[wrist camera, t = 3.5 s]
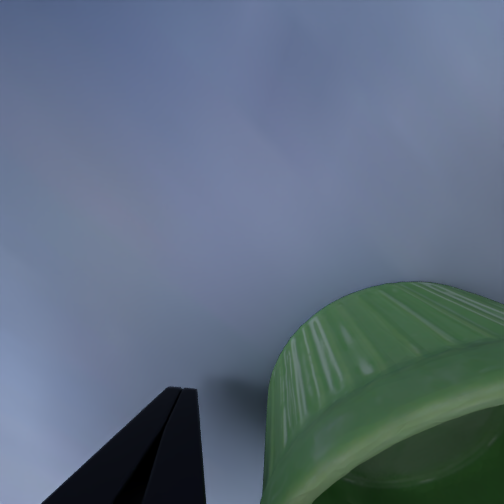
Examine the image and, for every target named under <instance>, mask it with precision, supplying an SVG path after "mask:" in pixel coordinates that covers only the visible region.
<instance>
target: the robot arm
mask: <svg viewBox="0 0 504 504" xmlns="http://www.w3.org/2000/svg"><path fill="white" fill-rule="evenodd" d="M41 504H206V494H205V481H204V468H203V455H202V443H201V430H200V417H199V404H198V392H197V389H194V388H184V389H182V388H181V387H171V386H170V387H167V388H166V389H165V390H164V391H163V392H162V393H161V394H159V395H158V396H157V397H156V398H155V399H154V400H153V401H152V402H151V403H150V404H149V405H147V406H146V407H145V408H144V409H143V410H142V411H141V412H140V413H139V414H138V415H137V416H136V417H134V418H133V419H132V420H131V421H130V422H129V423H128V424H127V425H126V426H125V427H124V428H123V429H121V430H120V431H119V432H118V433H117V434H116V435H115V436H114V437H113V438H112V439H111V440H109V441H108V442H107V443H106V444H105V445H104V446H103V447H102V448H101V449H100V450H99V451H98V452H96V453H95V454H94V455H93V456H92V457H91V458H90V459H89V460H88V461H87V462H86V463H85V464H83V465H82V466H81V467H80V468H79V469H78V470H77V471H76V472H75V473H74V474H73V475H72V476H70V477H69V478H68V479H67V480H66V481H65V482H64V483H63V484H62V485H61V486H60V487H58V488H57V489H56V490H55V491H54V492H53V493H52V494H51V495H50V496H49V497H48V498H47V499H45V500H44V501H43V502H42V503H41Z"/></svg>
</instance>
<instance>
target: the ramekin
mask: <svg viewBox="0 0 504 504" xmlns="http://www.w3.org/2000/svg"><path fill="white" fill-rule="evenodd" d="M260 504H504V304H501V303H498V302H496V301H493V300H490V299H488V298H485V297H482V296H479V295H476V294H473V293H470V292H466V291H463V290H460V289H457V288H454V287H451V286H447V285H442V284H436V283H430V282H399V283H386V284H383V285H379V286H373V287H370V288H366V289H363V290H360V291H357V292H354V293H351V294H349V295H347V296H345V297H342V298H340V299H338V300H336V301H334V302H332V303H331V304H329V305H327V306H326V307H324V308H323V309H321V310H320V311H319V312H317V313H316V314H315V315H314V316H312V317H311V318H310V319H309V320H308V321H307V322H306V323H304V324H303V325H302V326H301V327H300V328H299V329H298V330H297V331H296V333H295V334H294V335H293V336H292V337H291V338H290V340H289V341H288V343H287V344H286V346H285V347H284V349H283V350H282V352H281V354H280V355H279V358H278V360H277V362H276V364H275V367H274V369H273V371H272V375H271V379H270V383H269V388H268V400H267V415H266V433H265V455H264V474H263V491H262V498H261V501H260Z"/></svg>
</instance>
